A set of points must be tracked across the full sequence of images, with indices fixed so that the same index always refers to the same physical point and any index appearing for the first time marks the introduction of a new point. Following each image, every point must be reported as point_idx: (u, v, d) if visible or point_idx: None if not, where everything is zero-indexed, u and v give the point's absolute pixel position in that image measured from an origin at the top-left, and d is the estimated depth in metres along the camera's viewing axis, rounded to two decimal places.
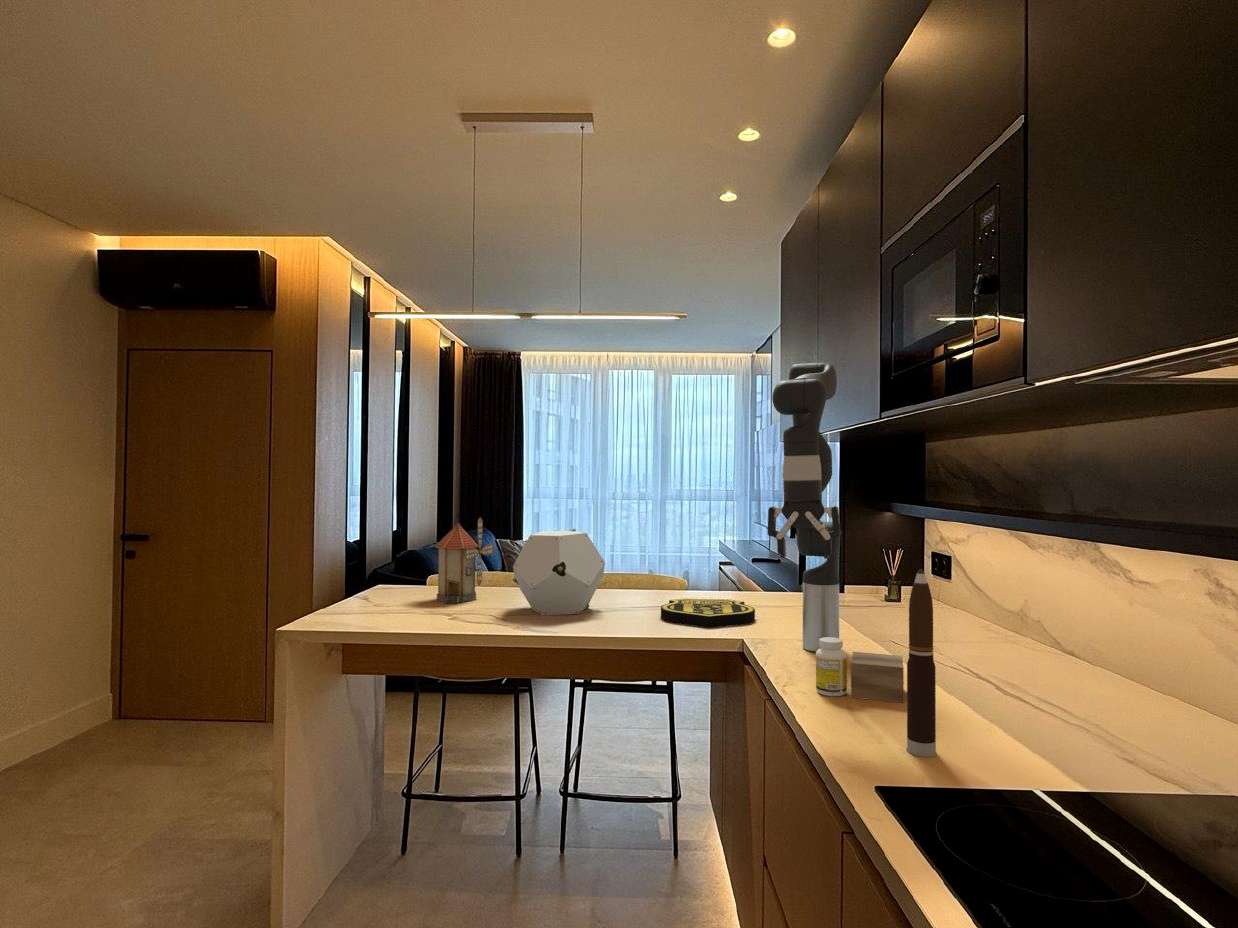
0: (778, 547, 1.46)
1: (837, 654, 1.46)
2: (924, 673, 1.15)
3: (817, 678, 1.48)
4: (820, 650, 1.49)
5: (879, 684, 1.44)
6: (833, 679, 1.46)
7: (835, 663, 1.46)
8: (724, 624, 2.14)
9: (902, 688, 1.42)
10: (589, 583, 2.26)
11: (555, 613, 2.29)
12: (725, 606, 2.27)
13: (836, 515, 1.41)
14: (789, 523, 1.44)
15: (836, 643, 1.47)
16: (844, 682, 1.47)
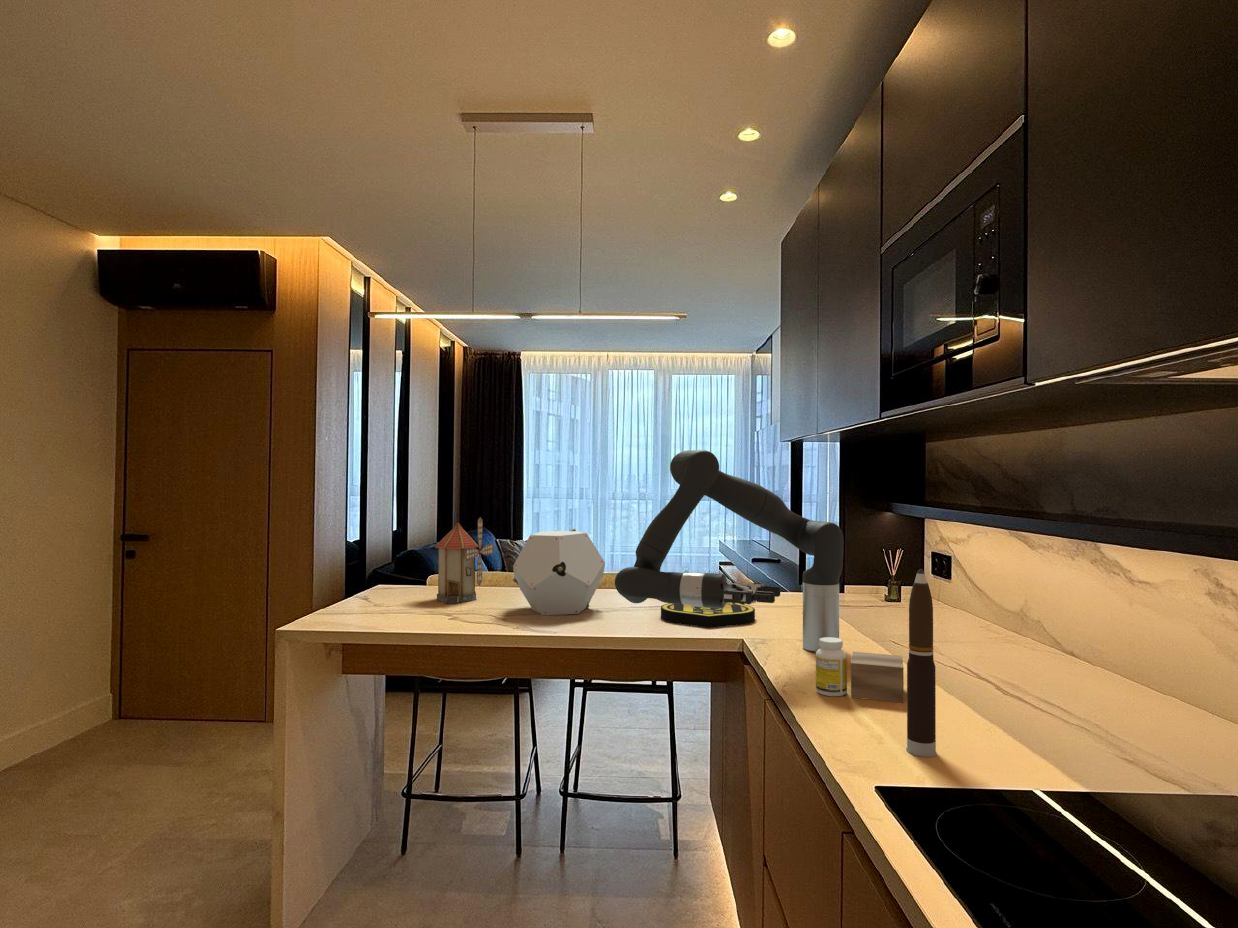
0: None
1: (837, 654, 1.46)
2: (924, 673, 1.15)
3: (817, 678, 1.48)
4: (820, 650, 1.49)
5: (879, 684, 1.44)
6: (833, 679, 1.46)
7: (835, 663, 1.46)
8: (724, 624, 2.14)
9: (902, 688, 1.42)
10: (589, 583, 2.26)
11: (555, 613, 2.29)
12: (725, 606, 2.27)
13: None
14: None
15: (836, 643, 1.47)
16: (844, 682, 1.47)
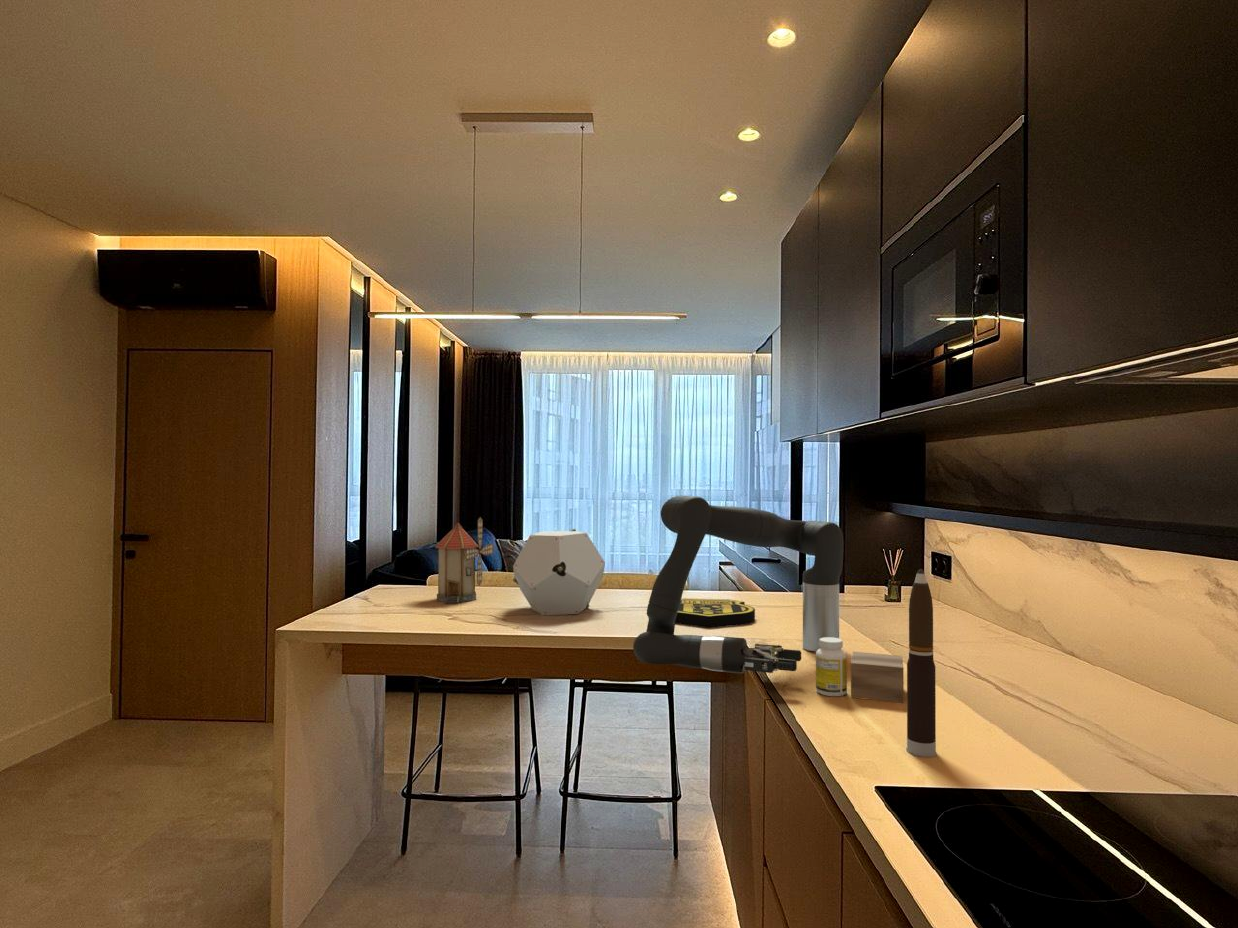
0: None
1: (837, 654, 1.46)
2: (924, 673, 1.15)
3: (817, 678, 1.48)
4: (820, 650, 1.49)
5: (879, 684, 1.44)
6: (833, 679, 1.46)
7: (835, 663, 1.46)
8: (724, 624, 2.14)
9: (902, 688, 1.42)
10: (589, 583, 2.26)
11: (555, 613, 2.29)
12: (725, 606, 2.27)
13: None
14: None
15: (836, 643, 1.47)
16: (844, 682, 1.47)
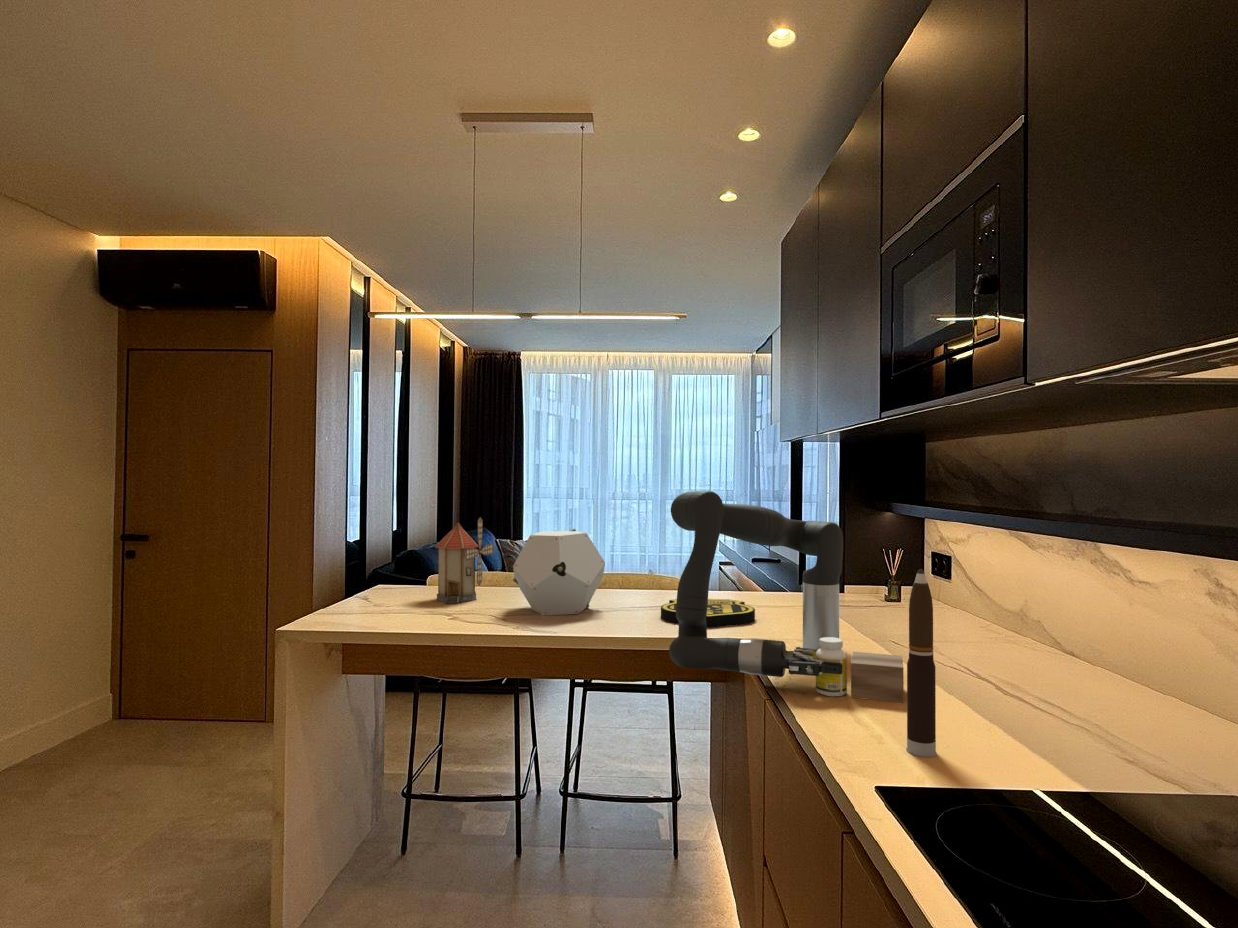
0: None
1: (837, 654, 1.46)
2: (924, 673, 1.15)
3: (817, 678, 1.48)
4: (820, 650, 1.49)
5: (879, 684, 1.44)
6: (833, 679, 1.46)
7: None
8: (724, 624, 2.14)
9: (902, 688, 1.42)
10: (589, 583, 2.26)
11: (555, 613, 2.29)
12: (725, 606, 2.27)
13: None
14: None
15: (836, 643, 1.47)
16: (844, 682, 1.47)
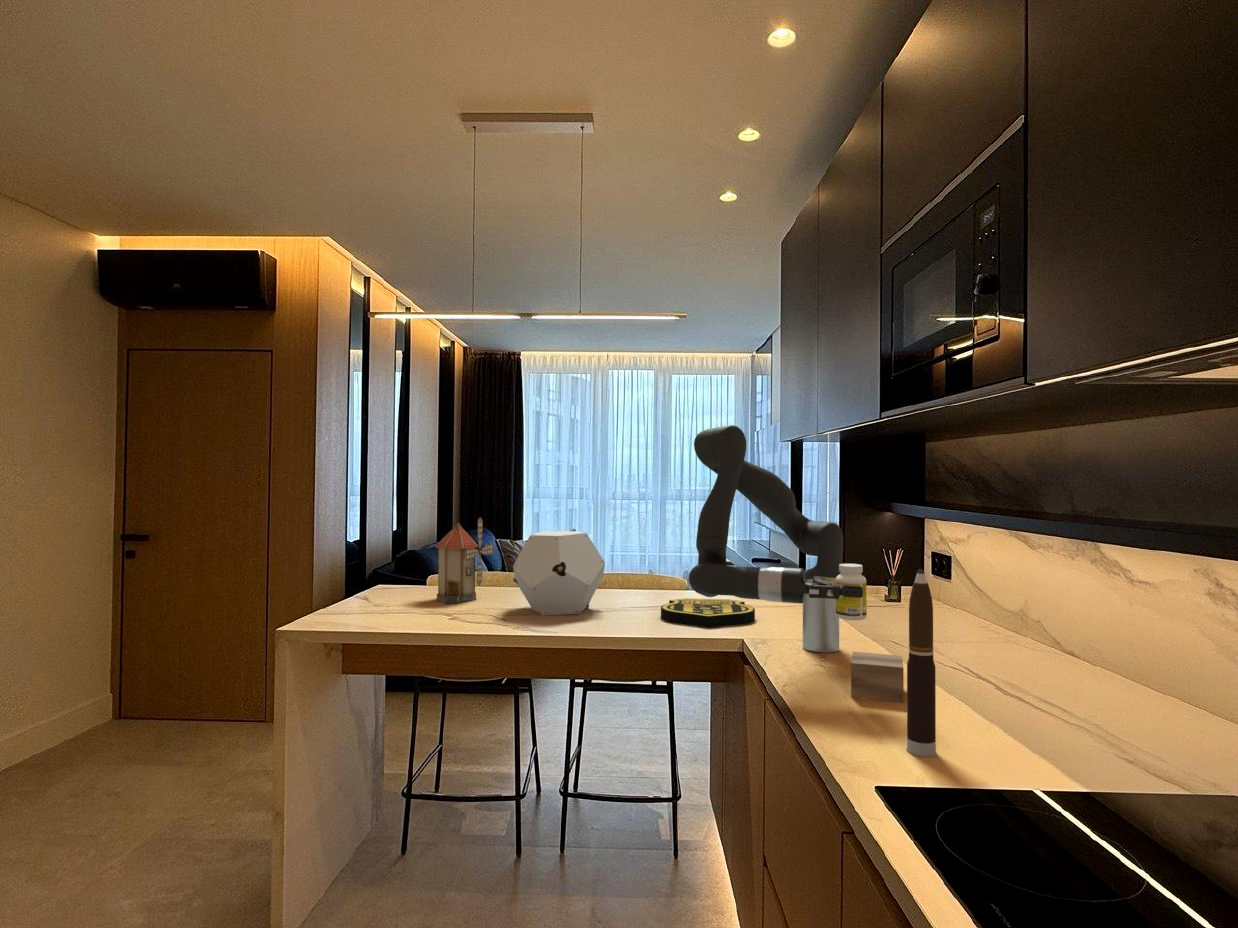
0: None
1: (857, 578, 1.46)
2: (924, 673, 1.15)
3: (837, 603, 1.49)
4: (840, 575, 1.49)
5: (879, 684, 1.44)
6: (853, 603, 1.46)
7: None
8: (724, 624, 2.14)
9: (902, 688, 1.42)
10: (589, 583, 2.26)
11: (555, 613, 2.29)
12: (725, 606, 2.27)
13: None
14: None
15: (856, 567, 1.47)
16: (864, 606, 1.47)
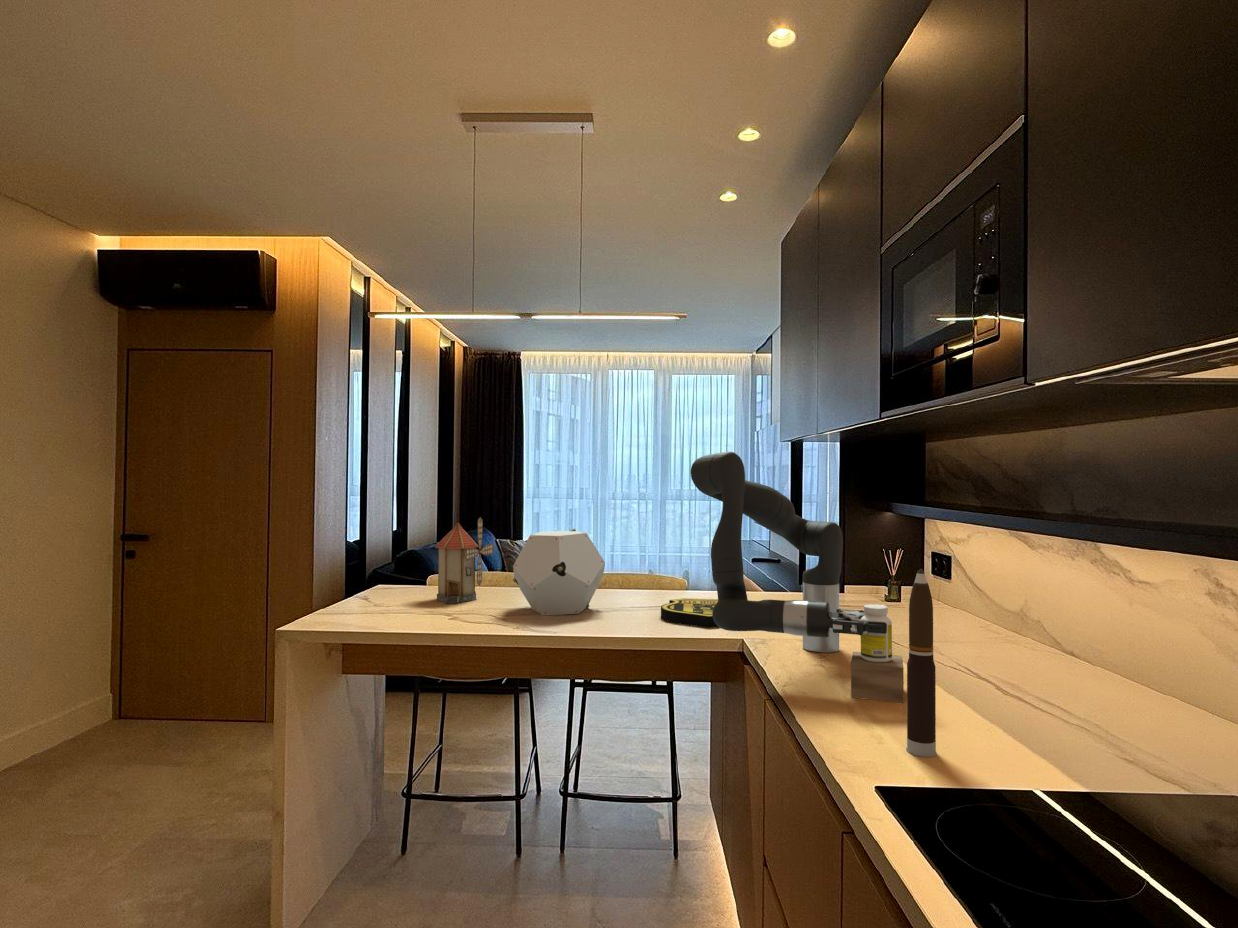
0: None
1: (883, 620, 1.46)
2: (924, 673, 1.15)
3: (862, 645, 1.48)
4: (865, 617, 1.48)
5: (879, 684, 1.44)
6: (879, 645, 1.46)
7: None
8: None
9: (902, 688, 1.42)
10: (589, 583, 2.26)
11: (555, 613, 2.29)
12: None
13: None
14: None
15: (881, 609, 1.46)
16: (890, 648, 1.46)
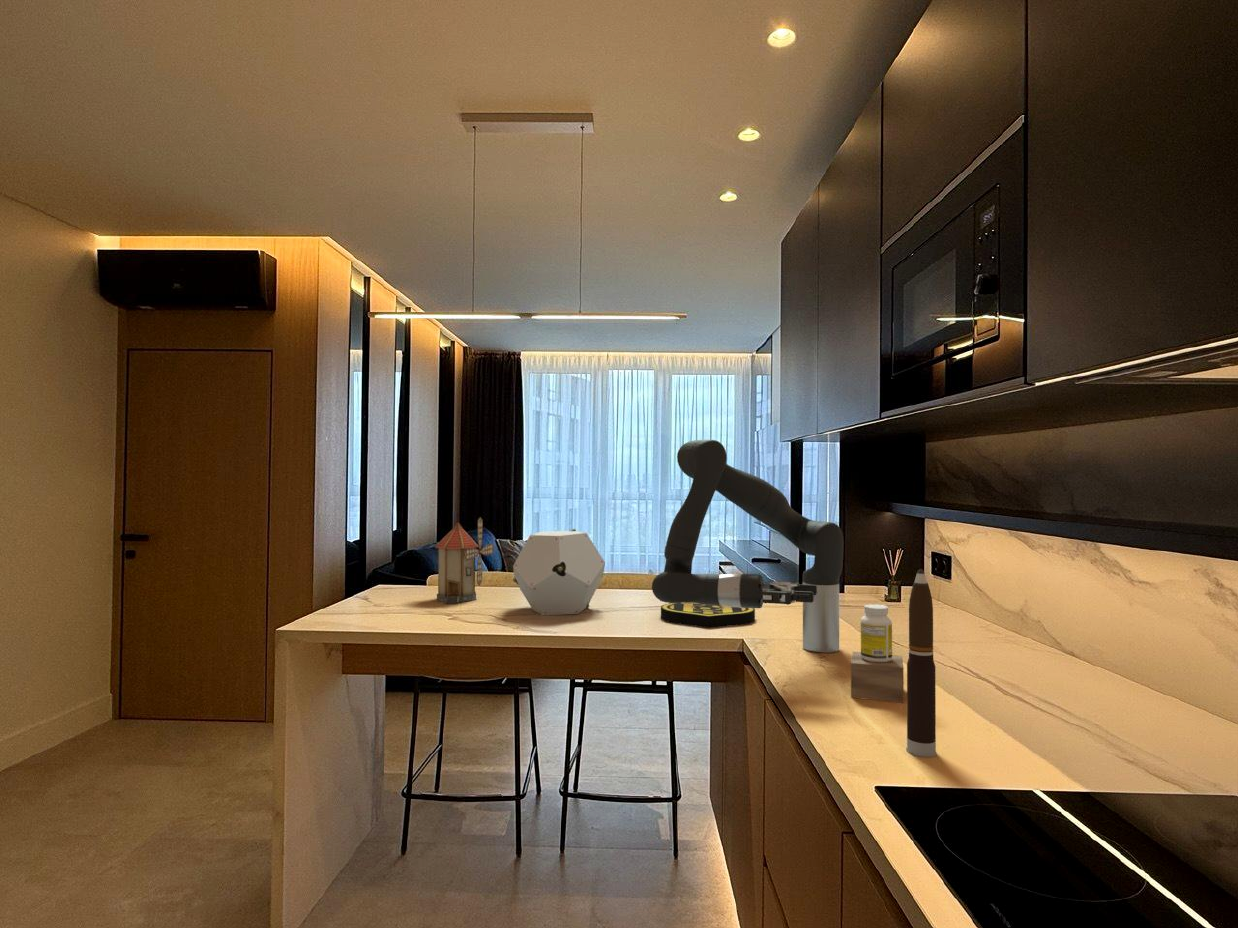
0: None
1: (883, 620, 1.46)
2: (924, 673, 1.15)
3: (862, 645, 1.48)
4: (865, 617, 1.48)
5: (879, 684, 1.44)
6: (879, 645, 1.46)
7: (881, 629, 1.46)
8: (724, 624, 2.14)
9: (902, 688, 1.42)
10: (589, 583, 2.26)
11: (555, 613, 2.29)
12: (725, 606, 2.27)
13: None
14: None
15: (882, 609, 1.46)
16: (890, 648, 1.46)
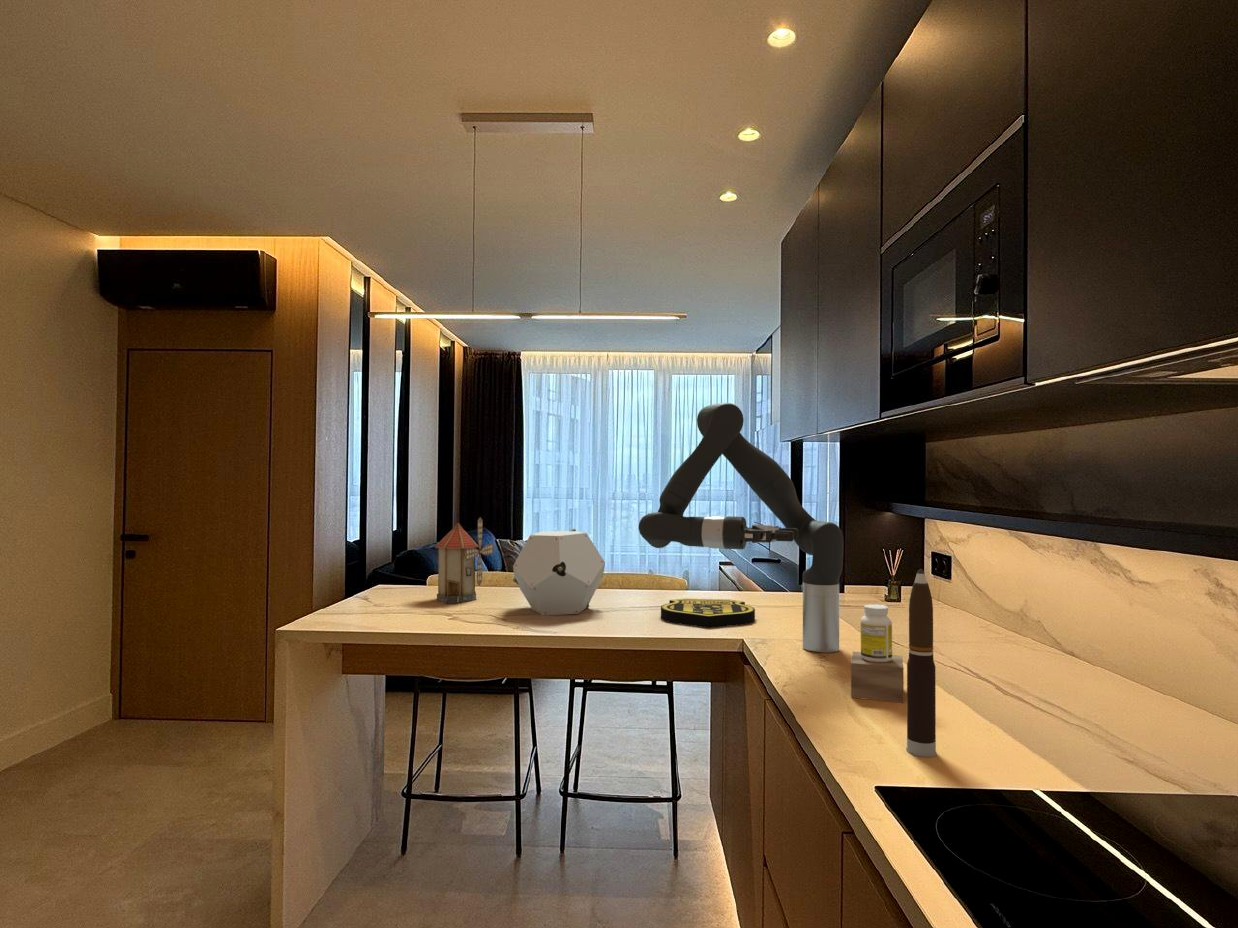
0: None
1: (883, 620, 1.46)
2: (924, 673, 1.15)
3: (862, 645, 1.48)
4: (865, 617, 1.48)
5: (879, 684, 1.44)
6: (879, 645, 1.46)
7: (881, 629, 1.46)
8: (724, 624, 2.14)
9: (902, 688, 1.42)
10: (589, 583, 2.26)
11: (555, 613, 2.29)
12: (725, 606, 2.27)
13: None
14: None
15: (882, 609, 1.46)
16: (890, 648, 1.46)
